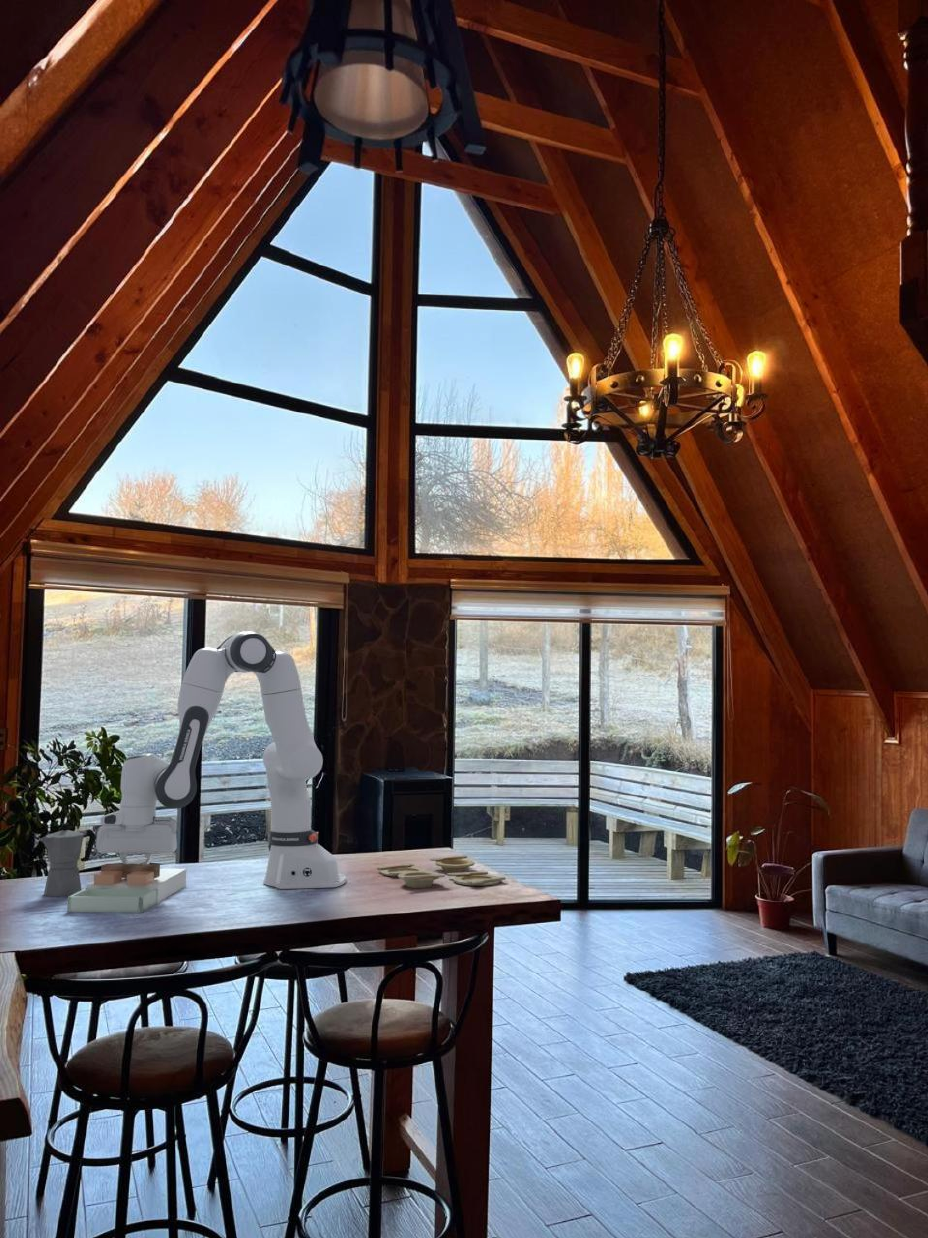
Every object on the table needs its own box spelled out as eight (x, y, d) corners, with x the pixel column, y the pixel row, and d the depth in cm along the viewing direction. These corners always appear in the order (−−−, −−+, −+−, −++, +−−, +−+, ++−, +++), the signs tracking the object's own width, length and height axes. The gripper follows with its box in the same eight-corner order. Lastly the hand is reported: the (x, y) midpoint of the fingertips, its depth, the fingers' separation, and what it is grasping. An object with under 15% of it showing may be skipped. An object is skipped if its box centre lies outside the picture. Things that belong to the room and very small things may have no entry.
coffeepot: (48, 900, 233) (51, 827, 234) (28, 895, 238) (31, 824, 240) (104, 890, 245) (106, 821, 246) (83, 885, 251) (86, 818, 252)
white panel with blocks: (185, 885, 250) (186, 869, 251) (157, 903, 230) (157, 885, 230) (120, 885, 251) (120, 868, 252) (85, 902, 230) (86, 884, 231)
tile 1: (154, 881, 234) (154, 871, 234) (146, 885, 229) (146, 875, 229) (134, 881, 234) (134, 871, 234) (126, 885, 229) (126, 875, 229)
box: (157, 903, 230) (157, 889, 230) (141, 913, 220) (142, 898, 220) (85, 902, 230) (86, 888, 231) (67, 912, 220) (67, 897, 221)
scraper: (170, 871, 245) (171, 859, 245) (155, 878, 234) (155, 866, 234) (118, 870, 246) (119, 858, 246) (100, 877, 235) (101, 865, 235)
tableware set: (511, 887, 252) (511, 872, 252) (409, 895, 241) (409, 879, 241) (464, 865, 284) (464, 851, 285) (372, 871, 273) (372, 857, 274)
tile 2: (121, 881, 234) (122, 871, 235) (113, 885, 229) (113, 875, 230) (102, 881, 235) (102, 870, 235) (93, 885, 230) (94, 874, 230)
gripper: (181, 815, 243) (179, 869, 242) (104, 814, 244) (103, 868, 243) (172, 818, 237) (171, 873, 236) (94, 817, 238) (92, 872, 237)
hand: (135, 870), depth 239 cm, fingers closed on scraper, 3 cm apart
